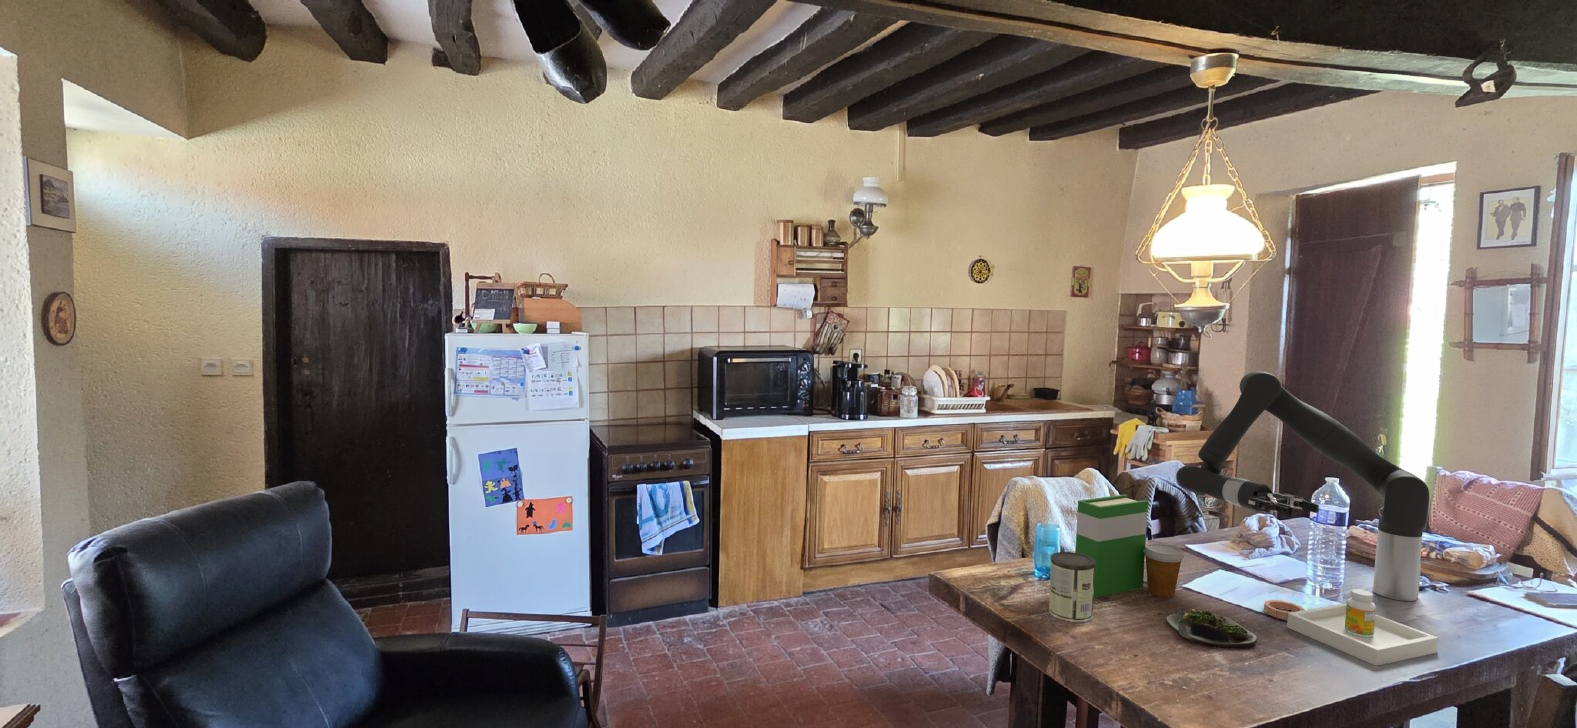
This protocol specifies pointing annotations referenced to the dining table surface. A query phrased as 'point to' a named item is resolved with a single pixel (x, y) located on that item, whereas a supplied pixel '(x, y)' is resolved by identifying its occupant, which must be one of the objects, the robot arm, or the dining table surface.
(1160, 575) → the disposable coffee cup
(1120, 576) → the hardback book
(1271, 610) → the cup holder
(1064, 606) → the coffee can
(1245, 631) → the salad plate
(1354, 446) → the robot arm
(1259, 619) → the dining table surface
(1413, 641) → the tray
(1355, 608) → the supplement bottle
